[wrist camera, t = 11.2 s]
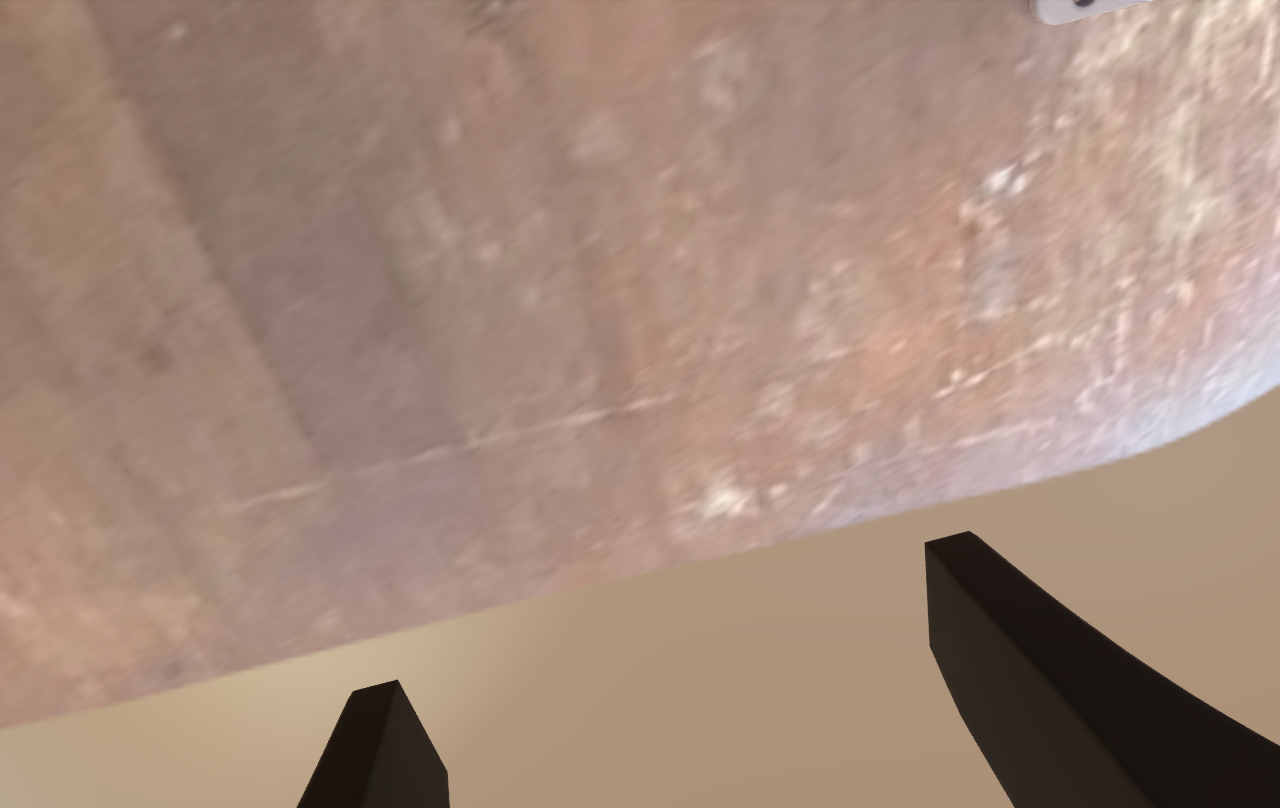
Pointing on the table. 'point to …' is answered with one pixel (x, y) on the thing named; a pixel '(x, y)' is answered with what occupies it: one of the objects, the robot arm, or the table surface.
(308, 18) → the table surface
